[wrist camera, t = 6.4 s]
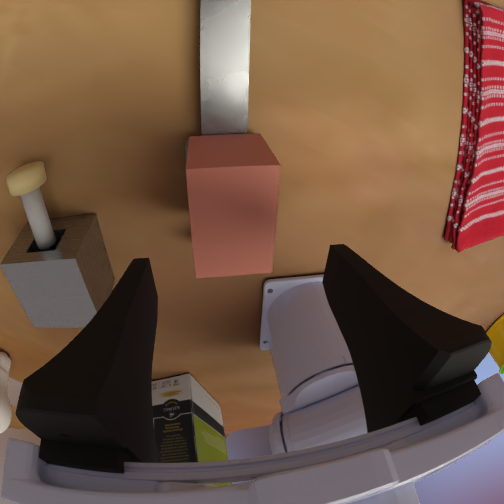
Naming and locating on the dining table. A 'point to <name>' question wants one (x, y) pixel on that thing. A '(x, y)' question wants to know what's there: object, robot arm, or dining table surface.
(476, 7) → the dish towel
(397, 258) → the dining table surface
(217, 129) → the rail
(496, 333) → the stacking cups
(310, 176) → the dining table surface
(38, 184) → the plunger
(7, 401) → the lightbulb
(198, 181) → the block
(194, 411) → the tea box
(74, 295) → the grey block with hole
